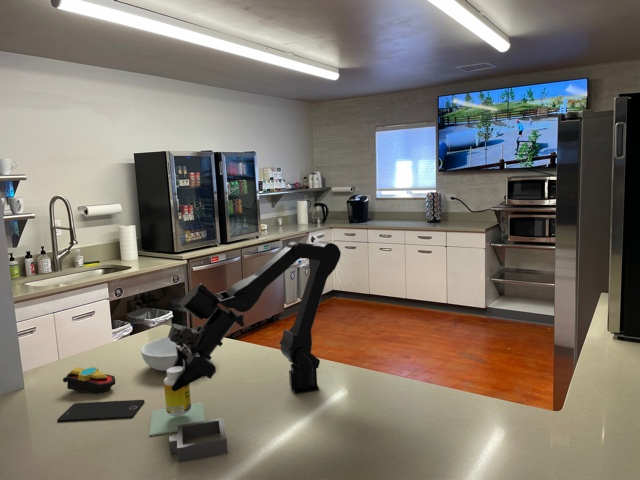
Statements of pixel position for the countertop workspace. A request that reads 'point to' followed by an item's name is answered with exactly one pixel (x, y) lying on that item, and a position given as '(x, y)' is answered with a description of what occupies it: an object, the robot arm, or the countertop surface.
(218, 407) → the countertop surface
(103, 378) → the gadget
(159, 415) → the mat
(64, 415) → the cell phone
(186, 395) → the supplement bottle
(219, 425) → the collar
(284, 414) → the countertop surface
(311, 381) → the robot arm
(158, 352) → the serving bowl
